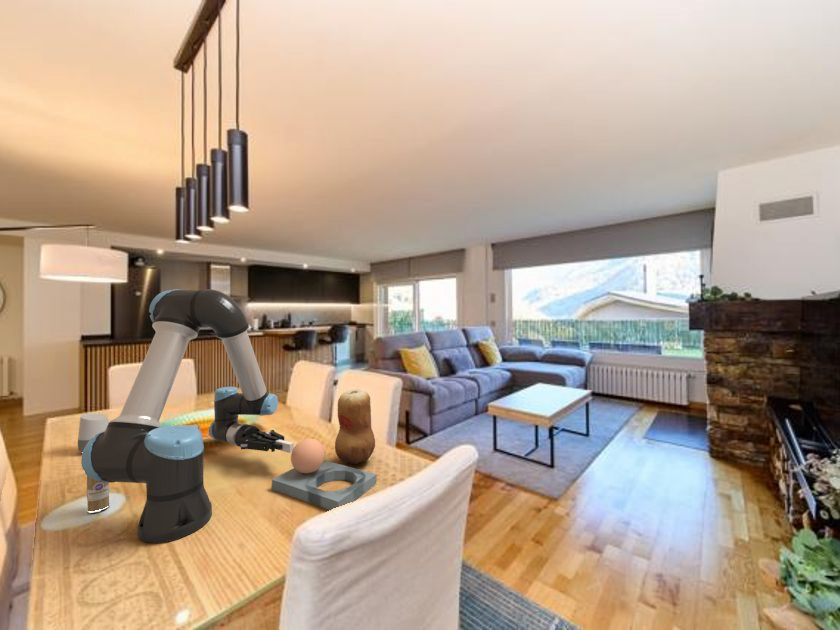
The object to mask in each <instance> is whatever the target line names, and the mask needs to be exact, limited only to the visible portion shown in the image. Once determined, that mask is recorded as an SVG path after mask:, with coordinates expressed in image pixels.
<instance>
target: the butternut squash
mask: <svg viewBox="0 0 840 630" xmlns="http://www.w3.org/2000/svg"><path fill="white" fill-rule="evenodd" d="M371 407H372V406H371V396H370V395H369V392H367V391H366V390H364V389H361V388H359V389H358V388H357V389H350V390H346V391H344V392H342V394H341V395H340V396H339V398H338V400H337V420H338V425H339V430H338V433H337V434H336V435H337V436H336V439H335V442H334V444H335V445H334V450H335V454H336V456H337V457H338V458H339V460H341V461H343V462H346V464H347V463H348V464H351V465H358V464H359V463H361V462H367V461H368V460H369V458H371V456H372V454H373V453H374V450H375V447H376V439H375V434H374V431H373V429H372V408H371Z"/></svg>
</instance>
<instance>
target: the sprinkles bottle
mask: <svg viewBox="0 0 840 630" xmlns="http://www.w3.org/2000/svg"><path fill="white" fill-rule="evenodd" d="M86 500H87V502H86V503H87V510H88V511H95V510H99V509H103V508H105V507H107V506H109V504H110V482H104V481H98V480H94V479H91V478H90V477H88V476H87V475H86ZM109 507H110V506H109Z"/></svg>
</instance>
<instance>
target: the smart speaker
mask: <svg viewBox="0 0 840 630" xmlns="http://www.w3.org/2000/svg"><path fill="white" fill-rule="evenodd" d="M79 419H80V420H79V428H78V437H77V447H78V448H77V449H78V451H79V452H80V453H81V452H83V450H84V448H85V446H86V444H87V443H88V442H89V440H90V439H91V438H94V437H95V435H97V434H99V433H101V432H104V431H105V430H106V428H107V426H108V424H109V422H110V421H109V418H108V416H107V415H106V414H104V413H102V414H101V413H84V414H81V415H80V418H79Z"/></svg>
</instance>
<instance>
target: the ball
mask: <svg viewBox="0 0 840 630" xmlns="http://www.w3.org/2000/svg"><path fill="white" fill-rule="evenodd" d="M293 447H294V449H293V451H292V452H291V453H290V462H291V466H292V467H293V468H295V469H296V470H297V471H298V472H300V473H304V474H308V473H312V472H314V471H316V470H317V469H319V468H320V466H321V465H322V464H323V462H324V460H325V458H326V450H325V447H324V445H323V444H322V443H321V442H320V441H319V440H317V439H314V438H305V439H303V440H300V441H299V442H298V443H296V444H295V446H293Z"/></svg>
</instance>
